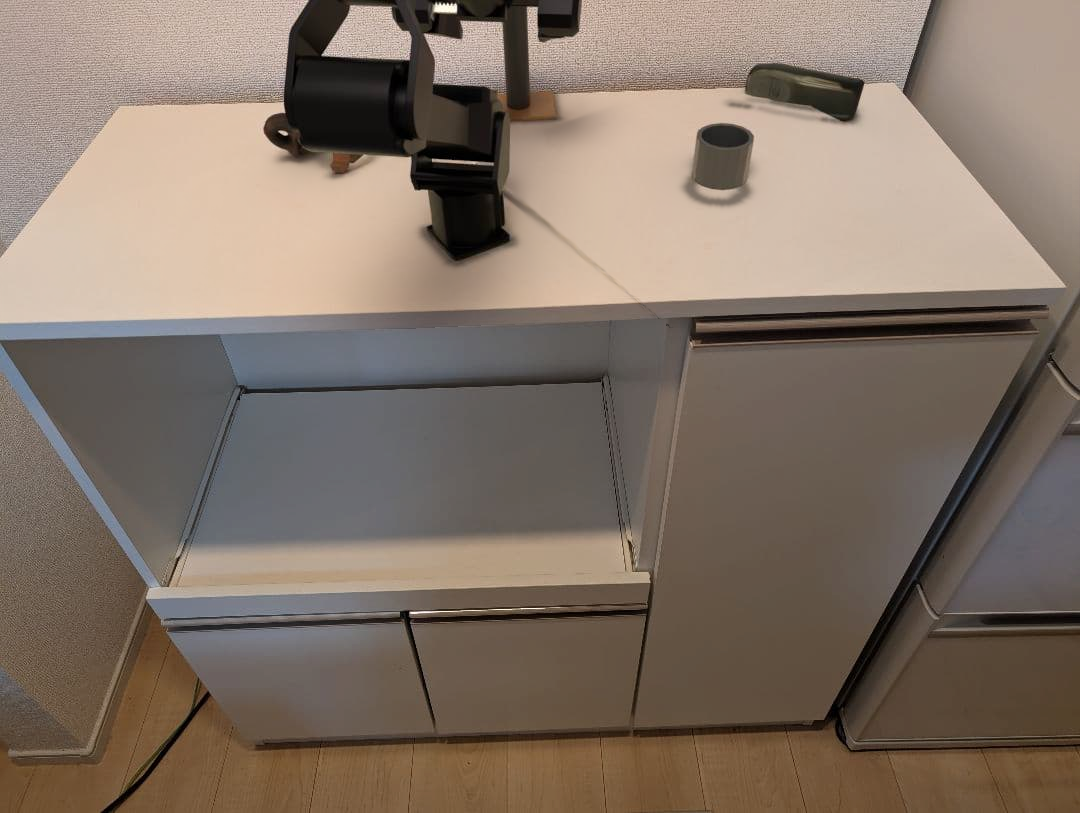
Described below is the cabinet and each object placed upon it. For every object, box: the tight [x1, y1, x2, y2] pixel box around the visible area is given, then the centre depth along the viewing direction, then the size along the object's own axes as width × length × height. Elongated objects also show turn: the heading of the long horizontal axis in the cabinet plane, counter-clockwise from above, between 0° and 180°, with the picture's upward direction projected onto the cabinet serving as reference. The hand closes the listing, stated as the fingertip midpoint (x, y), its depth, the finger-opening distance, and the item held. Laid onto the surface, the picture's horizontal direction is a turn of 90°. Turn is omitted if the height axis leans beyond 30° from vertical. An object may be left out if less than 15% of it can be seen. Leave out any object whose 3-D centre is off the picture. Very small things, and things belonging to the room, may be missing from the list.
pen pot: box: [691, 122, 755, 191], centre depth 85 cm, size 6×6×6 cm
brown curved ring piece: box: [262, 112, 364, 174], centre depth 91 cm, size 12×10×8 cm
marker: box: [501, 6, 531, 110], centre depth 96 cm, size 3×3×15 cm
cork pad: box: [497, 91, 557, 122], centre depth 101 cm, size 9×7×1 cm
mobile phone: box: [744, 62, 865, 121], centre depth 97 cm, size 5×3×15 cm
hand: (502, 36), depth 87 cm, fingers open, 9 cm apart
